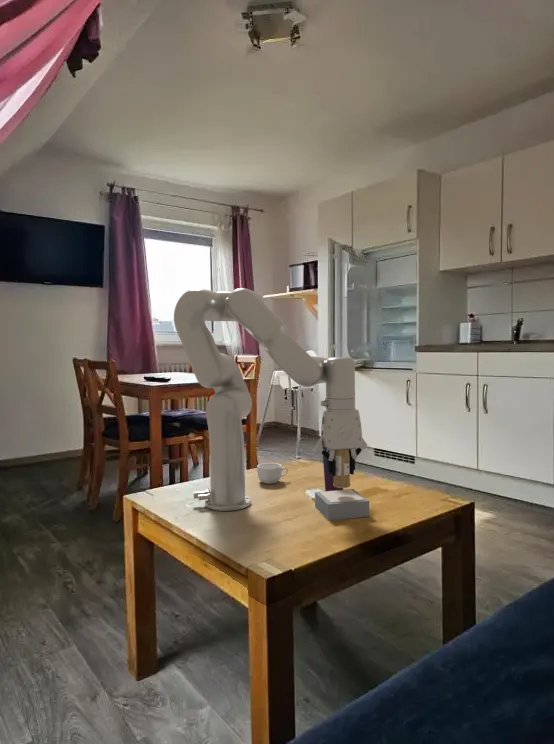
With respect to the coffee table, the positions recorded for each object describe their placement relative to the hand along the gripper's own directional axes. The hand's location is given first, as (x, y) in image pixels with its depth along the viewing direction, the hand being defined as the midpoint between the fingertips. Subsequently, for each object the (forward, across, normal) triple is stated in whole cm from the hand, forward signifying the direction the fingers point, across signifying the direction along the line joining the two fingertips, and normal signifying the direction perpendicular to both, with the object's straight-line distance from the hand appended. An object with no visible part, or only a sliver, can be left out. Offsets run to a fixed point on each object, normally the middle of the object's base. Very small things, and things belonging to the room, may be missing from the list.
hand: (341, 473), depth 134 cm
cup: (+10, +3, +14) cm, 18 cm away
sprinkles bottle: (+4, 0, 0) cm, 4 cm away
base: (+10, 0, 0) cm, 10 cm away
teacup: (+10, -11, +33) cm, 36 cm away
